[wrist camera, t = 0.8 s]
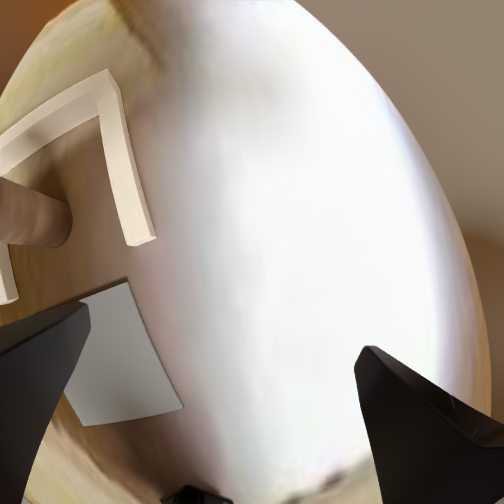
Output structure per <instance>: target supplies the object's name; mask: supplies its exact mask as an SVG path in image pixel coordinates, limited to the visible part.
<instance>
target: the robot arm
mask: <svg viewBox="0 0 504 504" xmlns="http://www.w3.org/2000/svg"><path fill="white" fill-rule="evenodd" d="M90 330H91V320H90V313H89V306H88V304H87V303H84V302H81V301H73V302H70V303H67V304H64V305H61V306H58V307H56V308H53V309H50V310H47V311H44V312H41V313H38V314H35V315H32V316H30V317H27V318H24V319H21V320H18V321H15V322H12V323H10V324H7V325H4V326H1V327H0V504H21V502H22V498H23V495H24V491H25V488H26V484H27V481H28V478H29V475H30V472H31V469H32V465H33V462H34V460H35V457H36V454H37V451H38V449H39V446H40V444H41V441H42V439H43V436H44V434H45V431H46V429H47V426H48V424H49V422H50V419H51V417H52V415H53V413H54V410H55V408H56V406H57V404H58V402H59V400H60V398H61V395H62V393H63V391H64V389H65V387H66V385H67V383H68V381H69V379H70V377H71V375H72V373H73V371H74V369H75V367H76V365H77V362H78V360H79V357H80V355H81V352H82V350H83V347H84V345H85V343H86V340H87V338H88V336H89V333H90ZM354 373H355V378H356V384H357V390H358V396H359V402H360V407H361V411H362V415H363V419H364V423H365V426H366V430H367V434H368V438H369V442H370V446H371V450H372V454H373V459H374V463H375V467H376V472H377V477H378V481H379V486H380V491H381V496H382V501H383V504H504V424H502V423H500V422H498V421H496V420H494V419H492V418H490V417H489V416H487V415H485V414H483V413H481V412H479V411H477V410H476V409H474V408H472V407H470V406H468V405H467V404H465V403H463V402H462V401H460V400H459V399H457V398H455V397H454V396H452V395H450V394H449V393H448V392H446V391H444V390H443V389H441V388H440V387H438V386H437V385H435V384H434V383H432V382H431V381H429V380H427V379H426V378H424V377H423V376H421V375H420V374H418V373H417V372H415V371H414V370H412V369H410V368H409V367H407V366H406V365H404V364H403V363H401V362H400V361H398V360H397V359H395V358H394V357H392V356H391V355H389V354H388V353H386V352H385V351H383V350H381V349H380V348H378V347H377V346H365V347H363V349H362V351H361V353H360V355H359V357H358V359H357V361H356V363H355V366H354ZM161 504H234V503H232V502H229V501H226V500H223V499H221V498H218V497H215V496H213V495H210V494H208V493H205V492H203V491H201V490H198V489H196V488H194V487H191V486H188V485H187V486H184V487H183V488H182V489H180V490H179V491H178V492H176V493H175V494H174V495H172V496H171V497H169V498H168V499H167V500H165V501H164V502H163V503H161Z"/></svg>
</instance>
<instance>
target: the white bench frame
mask: <svg viewBox="0 0 504 504" xmlns="http://www.w3.org/2000/svg"><path fill="white" fill-rule="evenodd" d="M98 115H99V121H100V128H101V134H102V140H103V146H104V152H105V157H106V163H107V168H108V172H109V177H110V182H111V186H112V191H113V195H114V199H115V203H116V207H117V211H118V215H119V218H120V222H121V226H122V229H123V233H124V236H125V240H126V243H127V245H129V246H138V245H140V244H143V243H145V242H148V241H151V240H153V239H156V238H157V237H156V234H155V231H154V227H153V224H152V221H151V218H150V214H149V211H148V207H147V204H146V201H145V197H144V193H143V190H142V186H141V183H140V179H139V175H138V171H137V167H136V163H135V159H134V155H133V151H132V146H131V142H130V138H129V133H128V128H127V123H126V119H125V114H124V108H123V103H122V97H121V92H120V89H119V87H118V85H117V83H116V82H115V80H114V78H113V76H112V74H111V73H110V71H109V69H108V68H106V69H104V70H102V71H100V72H98V73H96V74H94V75H92V76H90V77H88V78H86V79H84V80H82V81H80V82H78V83H76V84H75V85H73V86H71V87H69V88H68V89H66V90H64V91H62V92H61V93H59V94H57V95H56V96H54V97H53V98H51V99H49V100H48V101H46V102H45V103H43V104H42V105H40V106H39V107H37V108H36V109H34V110H33V111H32V112H30V113H29V114H27V115H26V116H25V117H23V118H22V119H21V120H19V121H18V122H17V123H15V124H14V125H13V126H12V127H10V128H9V129H8V130H7V131H5V132H4V133H3V134H2V135H1V136H0V177H2V176H3V175H5V174H6V173H7V172H8V171H10V170H11V169H12V168H14V167H15V166H16V165H18V164H19V163H20V162H22V161H23V160H24V159H26V158H27V157H29V156H30V155H31V154H33V153H34V152H36V151H37V150H39V149H40V148H42V147H43V146H45V145H46V144H48V143H50V142H51V141H53V140H54V139H56V138H58V137H59V136H61V135H63V134H64V133H66V132H68V131H70V130H71V129H73V128H75V127H77V126H79V125H80V124H82V123H84V122H86V121H88V120H90V119H92V118H94V117H96V116H98ZM17 299H19V295H18V292H17V288H16V284H15V280H14V276H13V271H12V267H11V262H10V257H9V251H8V245H7V243H0V305H3V304H8V303H11V302H13V301H15V300H17Z"/></svg>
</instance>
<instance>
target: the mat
mask: <svg viewBox="0 0 504 504" xmlns="http://www.w3.org/2000/svg"><path fill="white" fill-rule="evenodd" d="M79 301H81V302H84V303H87V304H88V306H89V313H90V320H91V330H90V333H89V336H88V338H87V340H86V343H85V345H84V347H83V350H82V352H81V355H80V357H79V360H78V362H77V365H76V367H75V369H74V371H73V373H72V375H71V377H70V379H69V381H68V383H67V385H66V387H65V389H64V393H65V395H66V397H67V399H68V401H69V402H70V404H71V406H72V408H73V409H74V411H75V413H76V414H77V416H78V418H79V419H80V421H81V423H82V424H83V426H90V425H99V424H107V423H114V422H121V421H127V420H133V419H139V418H144V417H149V416H154V415H159V414H163V413H168V412H172V411H176V410H180V409H184V405H183V404H182V402H181V400H180V398H179V396H178V394H177V392H176V390H175V389H174V387H173V385H172V383H171V381H170V379H169V377H168V375H167V373H166V371H165V369H164V366H163V364H162V362H161V360H160V358H159V356H158V354H157V351H156V349H155V347H154V345H153V342H152V340H151V338H150V336H149V333H148V331H147V328H146V326H145V324H144V321H143V319H142V316H141V314H140V311H139V308H138V306H137V303H136V301H135V298H134V295H133V292H132V290H131V287H130V284H129V282H125V283H123V284H120V285H117V286H115V287H112V288H110V289H107V290H105V291H102V292H99V293H97V294H94V295H92V296H89V297H87V298H84V299H81V300H79Z"/></svg>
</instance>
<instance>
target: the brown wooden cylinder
mask: <svg viewBox="0 0 504 504" xmlns="http://www.w3.org/2000/svg"><path fill="white" fill-rule="evenodd" d="M71 229H72V213H71V210H70V208H69V207H68V205H67V204H65V203H64V202H62V201H59V200H57V199H54V198H52V197H49V196H47V195H44V194H42V193H39V192H37V191H34V190H32V189H29V188H27V187H24V186H22V185H19V184H17V183H14V182H12V181H9V180H7V179H5V178H2V177H0V243H8V244H18V245H28V246H39V247H49V248H56V247H59V246H61V245H62V244H64V243H65V241H66V240H67V239H68V237H69V235H70V232H71Z"/></svg>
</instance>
